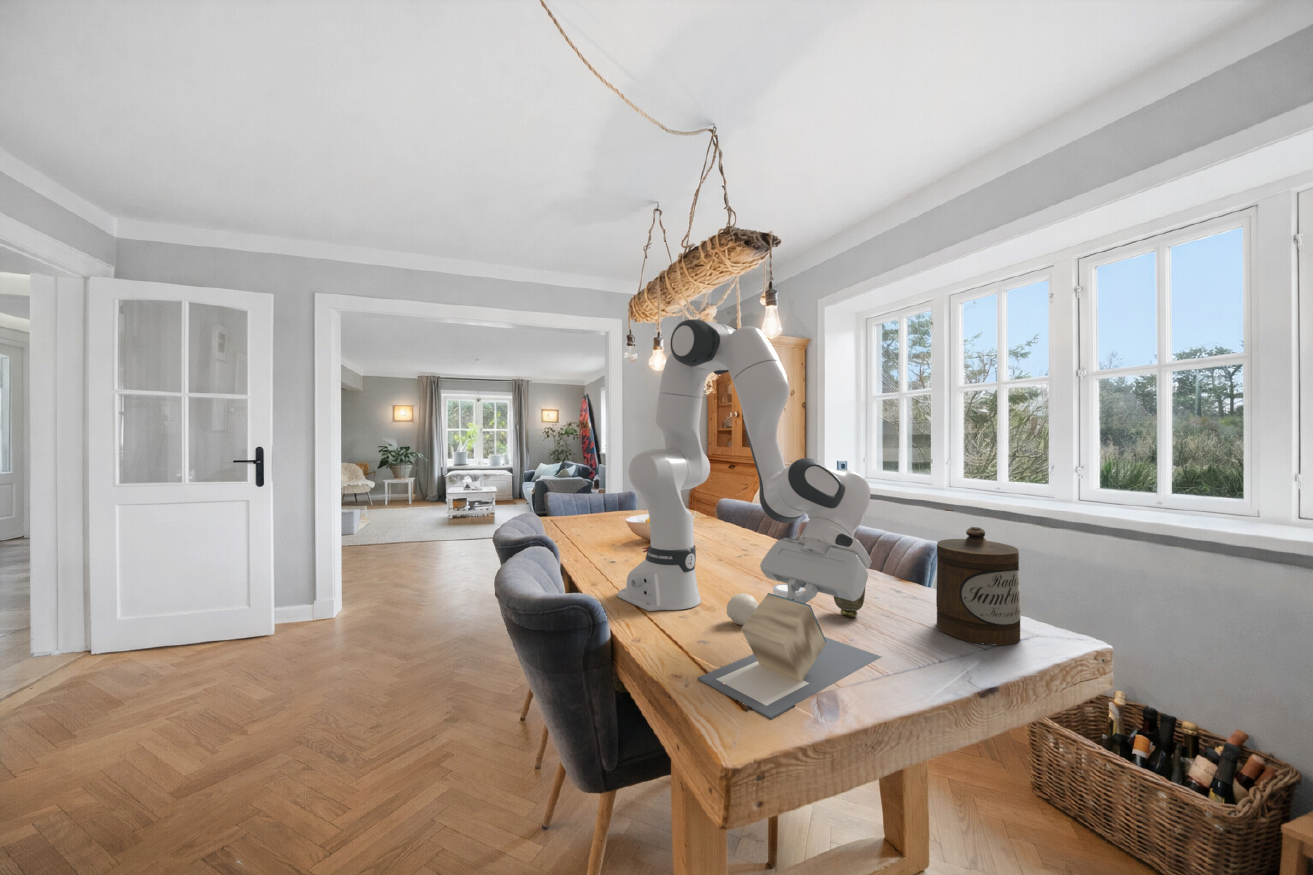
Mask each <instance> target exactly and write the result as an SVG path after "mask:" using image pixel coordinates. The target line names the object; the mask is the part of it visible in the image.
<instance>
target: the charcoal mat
mask: <svg viewBox="0 0 1313 875" xmlns="http://www.w3.org/2000/svg"><path fill="white" fill-rule="evenodd" d="M824 637H825V640H826V642H827V643H826V644H825V646H824V647H823V649H822V651H821V652H820V654H819V655H818V657H817V659H816V660H815V662H814V663H813V665H812V666H811V668H810V670H809V671H808V673H807V674H806V676H805V678H804V679H803V681H802V682H798V681H796V680H794V679H791V678H789V677H787V676H785V675H782V674H780V673H778V672H776V671H773V670H771V669H769V668H766V667H764V666H762V665H760V664H759V663H758V661H757V659H756V657H755V655H754V653H753V654H751V655H748V656H745V657H743V658H741V659H738V660H736V661H733V662H732V663H731V662H730V663H728V664H727V665H724V666H722V667H719V668H717V669H714V670H713V671H712V670H711V671H709V672H707V673H705V674H703V675H699V676H698V677H697V680H698V681H700V682H702V683H703V684H706V685H707V686H708V687H711V688H713V689H714V690H716V691H719V692H720V693H722V694H724V695H726V696H727V697H729V698H731V699H733V700H735V701H736V700H738V701H740V702H742V703H744V704H746V705H747V706H749V707H751V708H752V709H751V708H750V709H751V710H753V711H755V712H757V713H759V714H760V715H762V716H764V717H766V718H768V719H770V720H774V718H776V717H779V716H780V715H782V714H784V713H787V711H789V710H791V709H793V708H794V707H796V705H797V704H799V703H801V702H803V701H805V700H806V699H809V697H811V696H813V695H815V694H817V693H819V692H821V691H823V690H824V689H826V688H828V687H829V686H831V685H833V684H835V683H837V682H839V681H840V680H842V679H844V678H847V677H849V675H851V674H853V673H856V672H857V671H859V670H860V669H862V668H865V667H866V666H869V665H870V664H872V663H873V662H875V661H877V660H878V659H879V660H880V658H882V657H883V656H881V655H878V654H875V653H873V652H870V651H866V650H864V649H862V648H859V647H855V646H852V645H850V644H846V643H843V642H841V641H838V640H835V639H832V638H830V637H826V636H824ZM723 683H725V684H723ZM738 701H737V702H738ZM740 702H739V703H740ZM742 703H741V704H742ZM744 704H743V705H744ZM746 705H745V706H746ZM747 706H746V707H747ZM749 707H748V708H749Z"/></svg>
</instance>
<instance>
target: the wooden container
mask: <svg viewBox="0 0 1313 875" xmlns="http://www.w3.org/2000/svg"><path fill="white" fill-rule="evenodd" d="M965 534H966V535H967V537H966V538H950V539H949V538H947V539H941V540H939V541H937V543H936V558H937V559H936V596H935V598H936V625H937V628H938V629H939V630H940V632H943V633H945V634H947V635H948V636H950V637H953V638H955V639H958V640H962V641H965V642H969V643H973V642H977V643H976V644H978V643H984V644H983V645H985V644H996V645H995V646H1009V645H1014V644H1016V643H1018V642H1020V640H1021V610H1022V609H1021V590H1020V589H1021V588H1020V553H1019V548H1017V547H1015V546H1012V545H1009V544H1006V543H1001V542H998V541H997V542H996V541H988V540H987V539H986V538H985V536H986V531H985V530H984V529H983V528H981V527H977V526H976V527H975V526H970V527H969V528H968V529H967V530H966V533H965Z"/></svg>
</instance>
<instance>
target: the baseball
mask: <svg viewBox="0 0 1313 875" xmlns="http://www.w3.org/2000/svg"><path fill="white" fill-rule="evenodd" d="M758 606H759V603H758V601H757V600H756V598H755V597H754V596H753V595H751V594H749V593H737V594H735V595H733V596H732V597H731V598H730V600H729V601H728V603H727V605H726V614H727V617H728V618H730V620H732V621H733V622H734V623H735V624H737V625H740V626H743V625H744V624H745V623H746V621H747V620H748V619H749V618H750V616H751V615H752V614H753V612H754V611H755V610H756V608H757V607H758Z"/></svg>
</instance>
